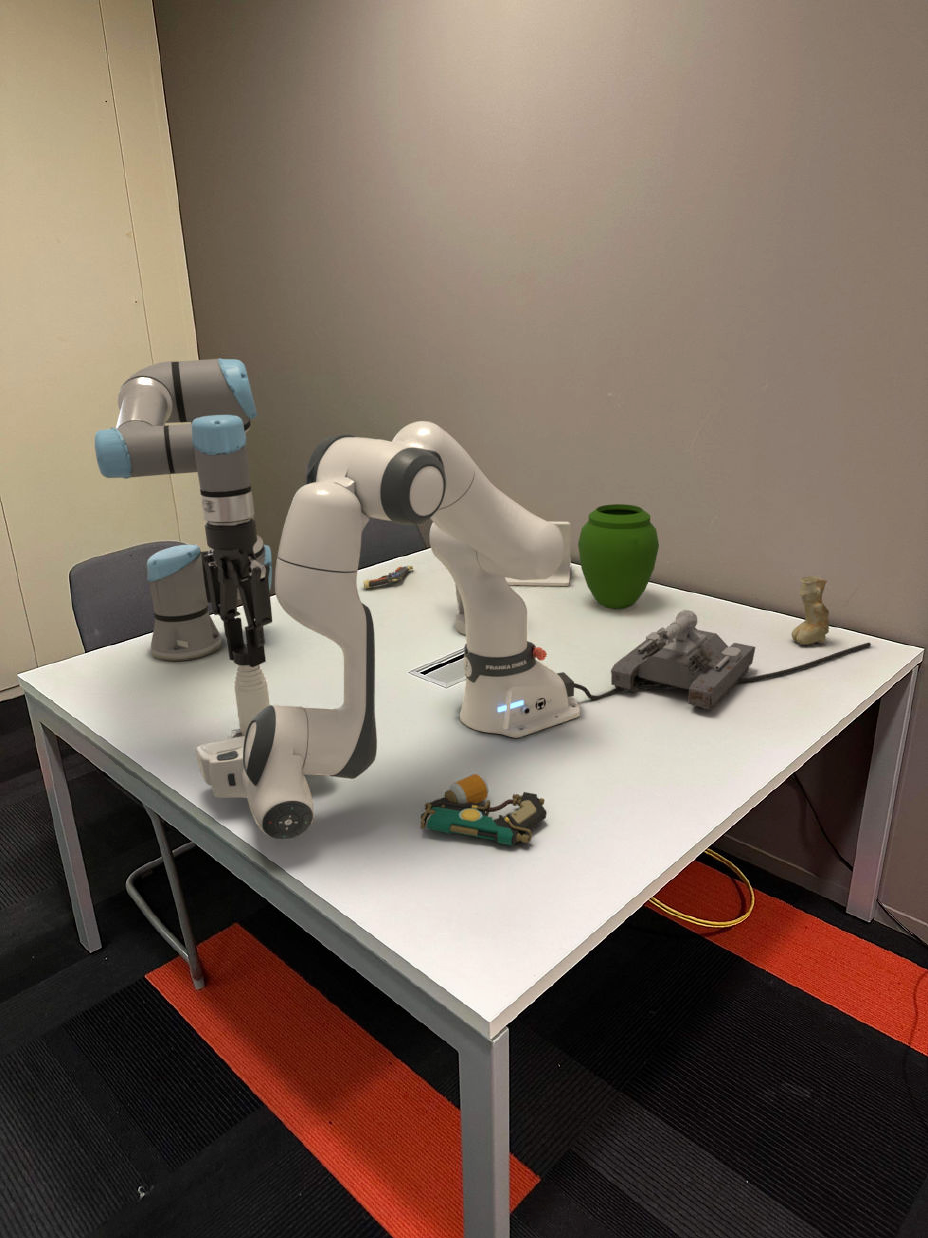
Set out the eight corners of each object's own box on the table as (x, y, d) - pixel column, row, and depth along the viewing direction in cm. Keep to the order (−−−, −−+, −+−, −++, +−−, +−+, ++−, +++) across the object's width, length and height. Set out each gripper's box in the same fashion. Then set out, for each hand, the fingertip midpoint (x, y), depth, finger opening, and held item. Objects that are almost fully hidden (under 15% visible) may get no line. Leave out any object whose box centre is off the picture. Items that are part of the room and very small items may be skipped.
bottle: (264, 775, 142) (250, 660, 135) (239, 769, 144) (223, 655, 136) (282, 760, 146) (269, 648, 139) (257, 755, 148) (243, 644, 141)
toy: (661, 649, 187) (665, 584, 181) (753, 669, 176) (760, 600, 170) (609, 692, 167) (612, 620, 162) (708, 717, 156) (715, 641, 151)
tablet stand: (569, 585, 229) (570, 524, 223) (476, 584, 232) (475, 523, 226) (570, 566, 246) (571, 508, 240) (484, 564, 249) (483, 507, 243)
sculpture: (787, 638, 190) (794, 574, 185) (818, 636, 191) (826, 572, 186) (799, 648, 185) (807, 582, 180) (831, 646, 186) (840, 580, 180)
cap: (260, 653, 141) (258, 642, 140) (262, 663, 137) (261, 651, 136) (232, 657, 140) (231, 645, 139) (234, 667, 136) (233, 655, 135)
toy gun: (360, 581, 230) (396, 578, 228) (380, 565, 248) (413, 562, 246) (362, 591, 231) (397, 588, 228) (381, 574, 248) (414, 571, 246)
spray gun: (557, 816, 129) (509, 874, 118) (464, 782, 137) (410, 832, 126) (559, 793, 127) (509, 849, 116) (464, 759, 135) (409, 808, 124)
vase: (599, 587, 227) (601, 497, 218) (668, 600, 216) (673, 505, 208) (562, 608, 212) (564, 513, 204) (634, 623, 202) (639, 523, 193)
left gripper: (174, 518, 132) (195, 656, 140) (247, 533, 122) (265, 681, 131) (213, 508, 138) (231, 642, 146) (287, 521, 128) (301, 664, 136)
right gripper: (333, 736, 134) (315, 701, 146) (199, 763, 127) (191, 724, 139) (337, 771, 136) (318, 733, 148) (204, 800, 129) (196, 758, 141)
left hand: (247, 660), depth 138 cm, fingers closed on cap, 4 cm apart
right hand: (255, 729), depth 144 cm, fingers closed on bottle, 5 cm apart
